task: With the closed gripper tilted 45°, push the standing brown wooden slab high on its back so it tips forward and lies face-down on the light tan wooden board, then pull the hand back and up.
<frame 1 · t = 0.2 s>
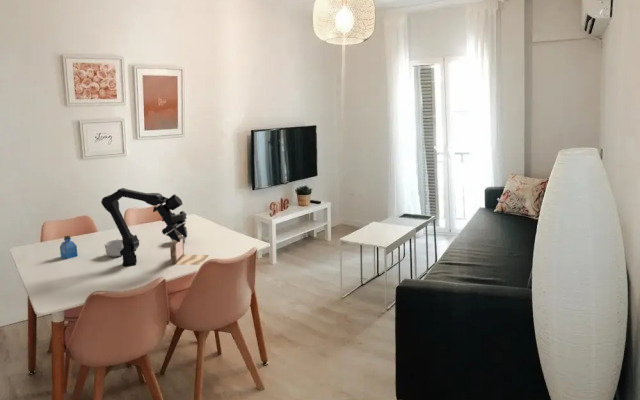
hand: (183, 239, 259), 15 cm above the table, tool tilted 30°, fingers open, 9 cm apart
perfume bottle: (69, 257, 276), on the table
light tan wooden board: (189, 260, 271), on the table
teacup: (117, 254, 281), on the table
piggy bank: (178, 243, 304), on the table
brown wooden slab: (177, 259, 270), resting on light tan wooden board
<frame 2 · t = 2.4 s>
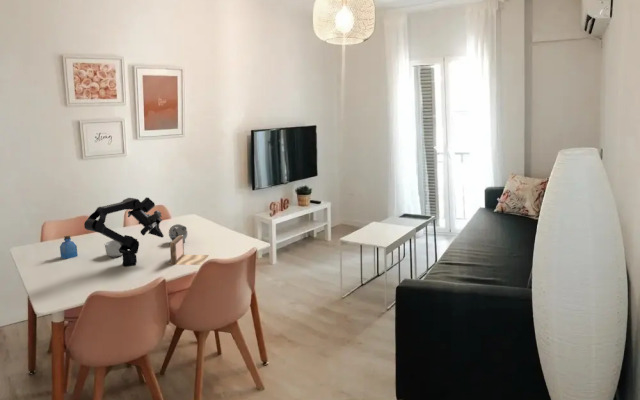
hand: (163, 236, 267), 14 cm above the table, tool tilted 45°, fingers closed
nothing on the table moved.
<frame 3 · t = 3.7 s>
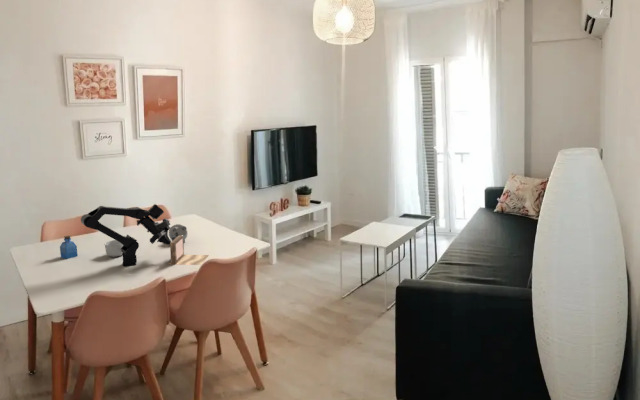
hand: (171, 244, 268), 9 cm above the table, tool tilted 45°, fingers closed
nothing on the table moved.
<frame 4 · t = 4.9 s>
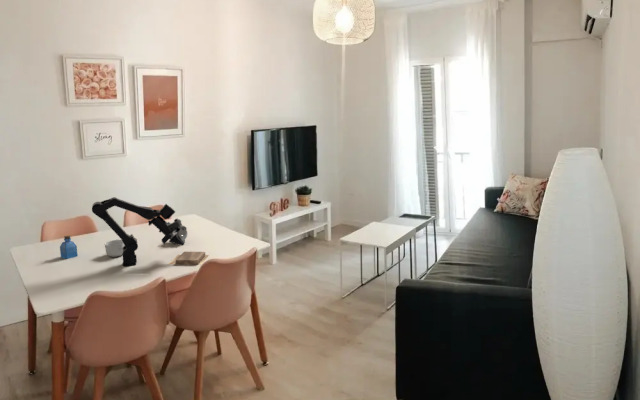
hand: (183, 244, 268), 9 cm above the table, tool tilted 45°, fingers closed
brown wooden slab: (180, 257, 269), point 2 cm above the table, tilted 90°, touching light tan wooden board
everything else where it was.
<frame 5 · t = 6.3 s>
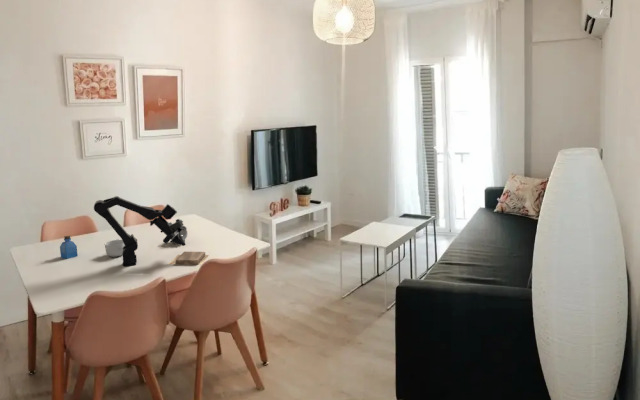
hand: (184, 245, 268), 9 cm above the table, tool tilted 45°, fingers closed
nothing on the table moved.
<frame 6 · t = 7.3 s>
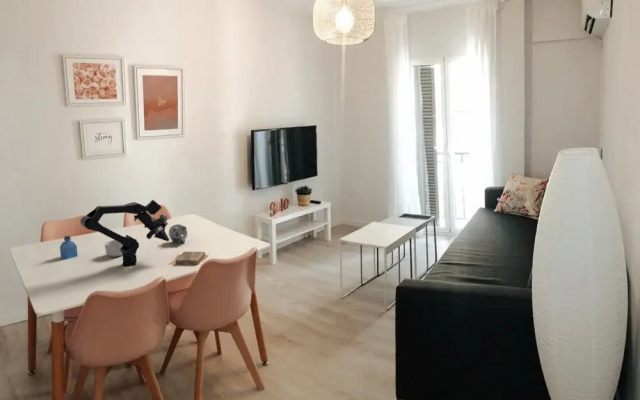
hand: (168, 240, 268), 12 cm above the table, tool tilted 45°, fingers closed
nothing on the table moved.
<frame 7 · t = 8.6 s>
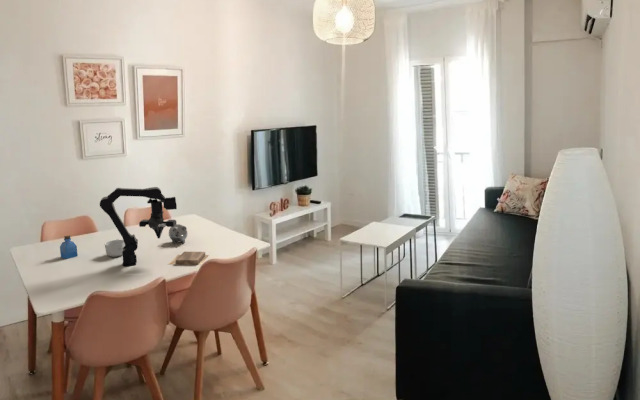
hand: (159, 238, 267), 13 cm above the table, tool pointing down, fingers closed
nothing on the table moved.
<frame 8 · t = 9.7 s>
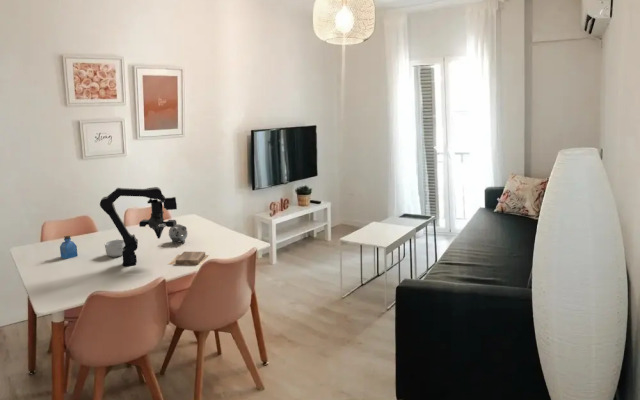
hand: (159, 238, 267), 13 cm above the table, tool pointing down, fingers closed
nothing on the table moved.
at the end: brown wooden slab tilted 90°; brown wooden slab inside the target area (0.4 cm from its centre), point 1.7 cm above the table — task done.
